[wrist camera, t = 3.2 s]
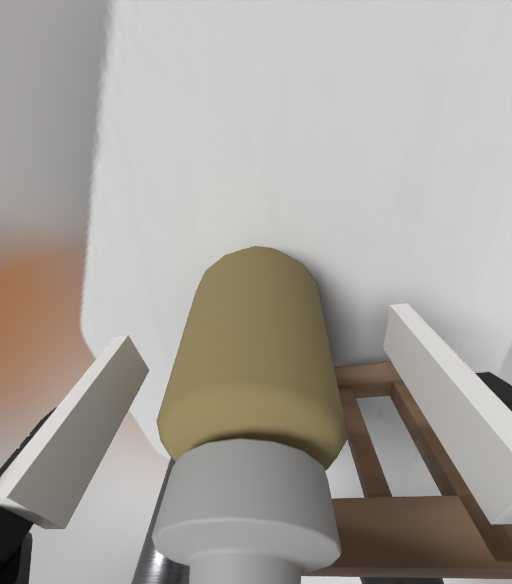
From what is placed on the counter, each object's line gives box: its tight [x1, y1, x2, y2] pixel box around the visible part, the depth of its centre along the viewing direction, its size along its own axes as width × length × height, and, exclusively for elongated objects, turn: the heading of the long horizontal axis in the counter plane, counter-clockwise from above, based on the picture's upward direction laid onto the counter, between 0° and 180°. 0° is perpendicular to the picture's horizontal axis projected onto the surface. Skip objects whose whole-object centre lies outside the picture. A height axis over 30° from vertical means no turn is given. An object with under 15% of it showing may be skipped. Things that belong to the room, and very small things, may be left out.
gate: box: [301, 361, 512, 579], centre depth 15 cm, size 2×15×11 cm, turn 100°
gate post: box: [131, 457, 190, 584], centre depth 17 cm, size 3×3×15 cm
